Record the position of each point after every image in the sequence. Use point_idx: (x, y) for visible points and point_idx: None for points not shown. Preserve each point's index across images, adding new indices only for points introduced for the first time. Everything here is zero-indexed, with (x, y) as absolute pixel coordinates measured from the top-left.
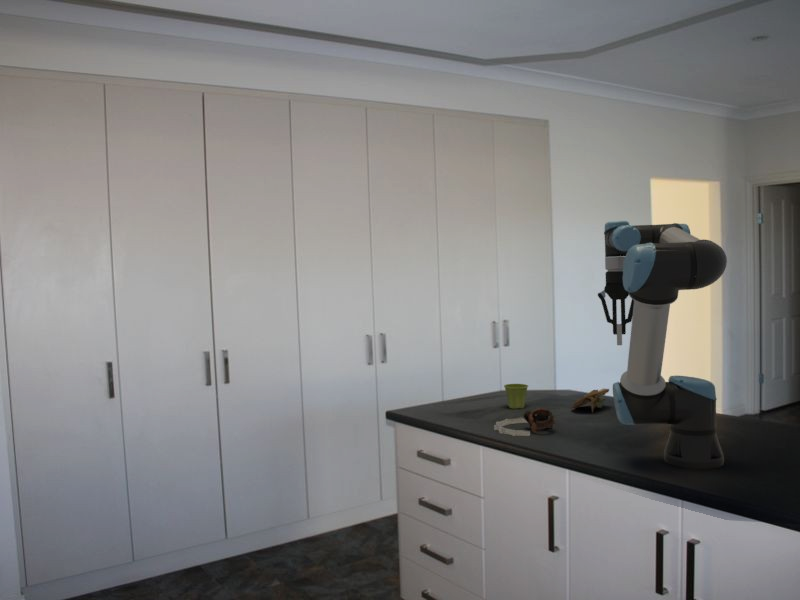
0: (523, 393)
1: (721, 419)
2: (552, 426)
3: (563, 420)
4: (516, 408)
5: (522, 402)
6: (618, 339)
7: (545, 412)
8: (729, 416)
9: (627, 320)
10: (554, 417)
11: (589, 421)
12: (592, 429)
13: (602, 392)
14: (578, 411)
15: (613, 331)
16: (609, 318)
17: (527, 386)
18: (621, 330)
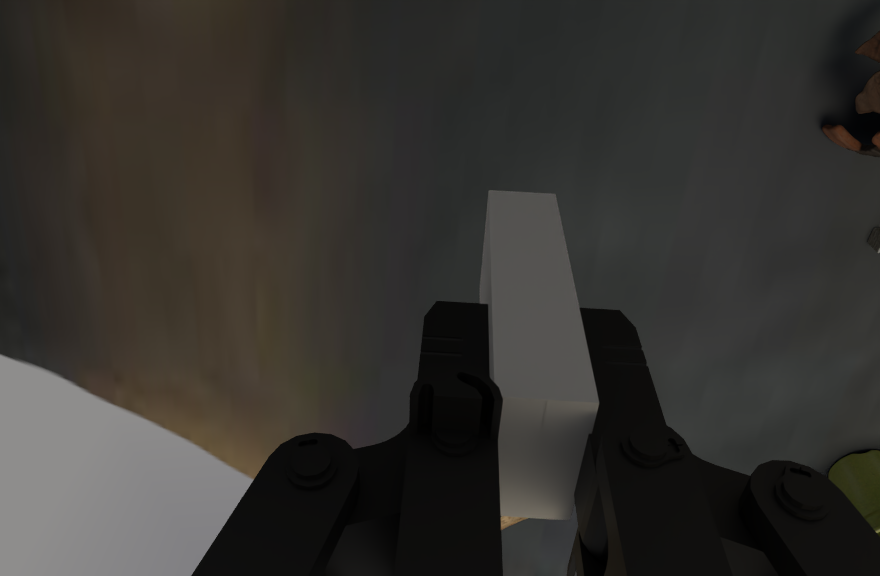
0: (869, 507)
1: (70, 323)
2: (826, 127)
3: (718, 283)
4: (872, 450)
5: (855, 475)
6: (543, 235)
7: None
8: (49, 365)
9: (357, 472)
10: (860, 95)
11: (603, 272)
12: (617, 127)
13: (514, 522)
14: None
15: (632, 344)
16: (808, 545)
17: None
18: (498, 320)
